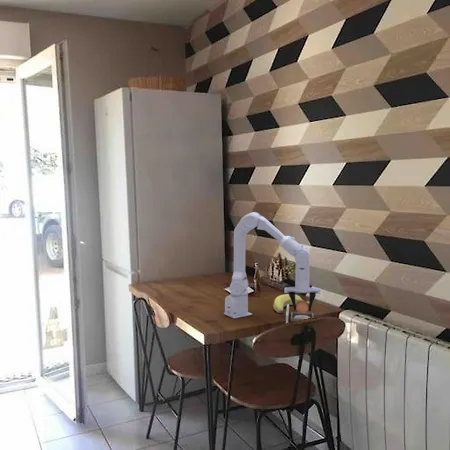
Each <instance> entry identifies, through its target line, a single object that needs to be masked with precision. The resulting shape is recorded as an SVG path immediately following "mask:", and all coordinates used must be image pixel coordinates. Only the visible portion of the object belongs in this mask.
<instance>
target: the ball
mask: <svg viewBox="0 0 450 450" xmlns="http://www.w3.org/2000/svg"><path fill="white" fill-rule="evenodd" d="M307 302H308V301H307ZM307 302H306V300H304V299H302V300H300V301H298V302H297V303H296V313H301V314H304V313H308V312H309V304H308V303H307Z"/></svg>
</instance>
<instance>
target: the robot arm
mask: <svg viewBox="0 0 450 450" xmlns="http://www.w3.org/2000/svg"><path fill="white" fill-rule="evenodd" d="M255 228H256V230H261V231H265V232H267V234H269V235H271V237H272V238H274V239H275V240H276V241H278V242H279V244H280V247H281V248H282V249H283V251H286V252H287V254H289V255H290V256H291V257H294V261H295V267H294V268H295V276H294V277H295V280H294V282H295V284H294V285H295V286H289V287H284V292H283V293H284V294H289V296H290V298H291V301H292V303H293V305H292V307H293V311H295V312H297V310H296V305H295V295H296V294H309V297H308V299H309V300H308V302H309V310H308V312H311V311H312V306H313V302H314V301H315V298H316V296H317V295H320V294H321V288H320V287H312V286H311V287H310V268H311V267H310V257H311V253H310V250H309V249H308V248H307V247H304V245H303V244H300V243H299V242H298V241H296V240H295V239H296V238H295V237H294V236H290V235H285V234H283V233H282V232H281V231H280V230H279V229H278V228H277V227H276V226H274V225H273V223H272V222H270V221H269V220H268V219H267V218H265V216H263V215H261V214H260V213H258V212H256V211H253V212H252V211H251V212H250V213H246V214H245V215H244V216H243V217H241V218H240V221H239V222H238V223H237V225H236V226H235V228H234V230H233V273H232V276H231V283H230V284H229V290H230V294H229V295H227V296H226V297H225V298H224V312H223V314H224V315H225V316H227V317H229V318H232V319H239V318H243V317H247V316H251V315H253V313H251V312H249V294H248V291H247V289H248V287H249V280H248V278H247V273H246V250H247V249H246V242H247V241H246V237H247V234H248V233H249V232H250V231H251V230H253V229H255Z"/></svg>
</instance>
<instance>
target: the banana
mask: <svg viewBox="0 0 450 450" xmlns="http://www.w3.org/2000/svg"><path fill="white" fill-rule="evenodd" d="M300 300H303V299H302V297H301V296H299V295H298V294H295V305H296V303H297V302H298V301H300ZM305 301H306V300H305ZM306 302H307V303H308V304H309V301H308V300H307V301H306ZM287 304H289V306H293V303H292V301H291V298H290V296H289V293H284V294H280V295H278V296H277V297H276V298H274V301H273V310H274V311H276V312H277V313H278V314H283V313H284V308H285V307H287Z"/></svg>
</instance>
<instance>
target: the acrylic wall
mask: <svg viewBox="0 0 450 450" xmlns="http://www.w3.org/2000/svg"><path fill="white" fill-rule="evenodd" d="M285 311H286V312H285V324H287V323H288V324H289V317H290V316H289V315H290V305H289V304H287V306H286V310H285ZM288 324H287V325H288Z"/></svg>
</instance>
